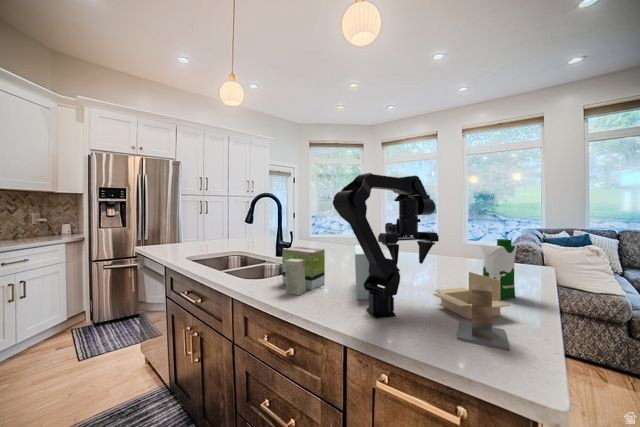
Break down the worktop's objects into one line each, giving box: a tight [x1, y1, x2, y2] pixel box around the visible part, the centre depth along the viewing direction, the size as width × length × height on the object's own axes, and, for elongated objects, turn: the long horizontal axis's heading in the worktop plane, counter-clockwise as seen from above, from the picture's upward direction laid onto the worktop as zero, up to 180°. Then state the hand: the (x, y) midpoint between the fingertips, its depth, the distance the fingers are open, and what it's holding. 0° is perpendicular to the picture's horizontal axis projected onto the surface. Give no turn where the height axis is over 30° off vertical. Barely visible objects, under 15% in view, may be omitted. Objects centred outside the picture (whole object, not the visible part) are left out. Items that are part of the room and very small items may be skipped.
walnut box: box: [471, 284, 493, 339], centre depth 64 cm, size 4×5×11 cm
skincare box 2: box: [354, 244, 370, 301], centre depth 100 cm, size 21×5×16 cm, turn 172°
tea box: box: [281, 246, 326, 291], centre depth 109 cm, size 15×10×15 cm, turn 58°
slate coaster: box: [456, 320, 510, 351], centre depth 64 cm, size 10×10×1 cm
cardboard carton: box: [432, 271, 511, 320], centre depth 80 cm, size 14×17×10 cm
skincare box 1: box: [285, 259, 307, 296], centre depth 98 cm, size 6×4×12 cm
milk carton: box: [480, 238, 518, 301], centre depth 93 cm, size 9×9×20 cm
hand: (408, 264), depth 85 cm, fingers open, 9 cm apart
